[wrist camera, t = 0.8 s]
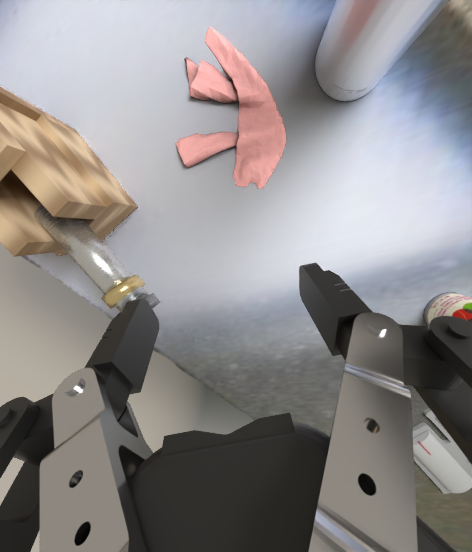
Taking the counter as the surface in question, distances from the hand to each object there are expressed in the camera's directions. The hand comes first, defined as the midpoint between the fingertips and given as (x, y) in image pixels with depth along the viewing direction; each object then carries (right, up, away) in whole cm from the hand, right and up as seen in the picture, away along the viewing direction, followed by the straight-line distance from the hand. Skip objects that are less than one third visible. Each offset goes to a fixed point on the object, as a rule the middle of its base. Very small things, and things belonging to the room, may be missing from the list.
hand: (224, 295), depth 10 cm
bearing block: (-24, +14, +22) cm, 36 cm away
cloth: (-2, +24, +19) cm, 31 cm away
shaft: (-17, +3, +19) cm, 25 cm away
